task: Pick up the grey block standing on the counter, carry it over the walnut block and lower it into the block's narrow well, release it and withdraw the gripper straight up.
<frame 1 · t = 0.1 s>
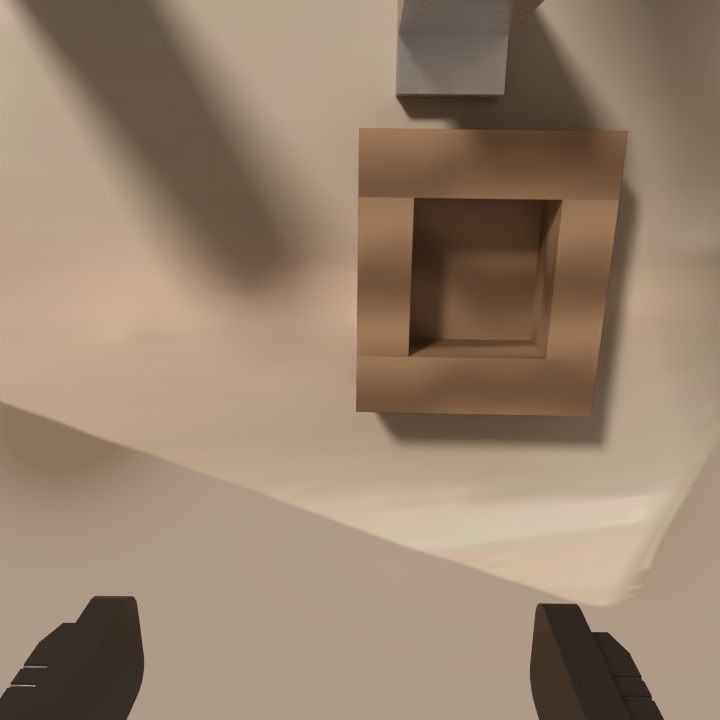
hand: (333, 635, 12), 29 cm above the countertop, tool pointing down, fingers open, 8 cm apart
grey block: (451, 0, 35), on the countertop
well block: (470, 268, 39), on the countertop
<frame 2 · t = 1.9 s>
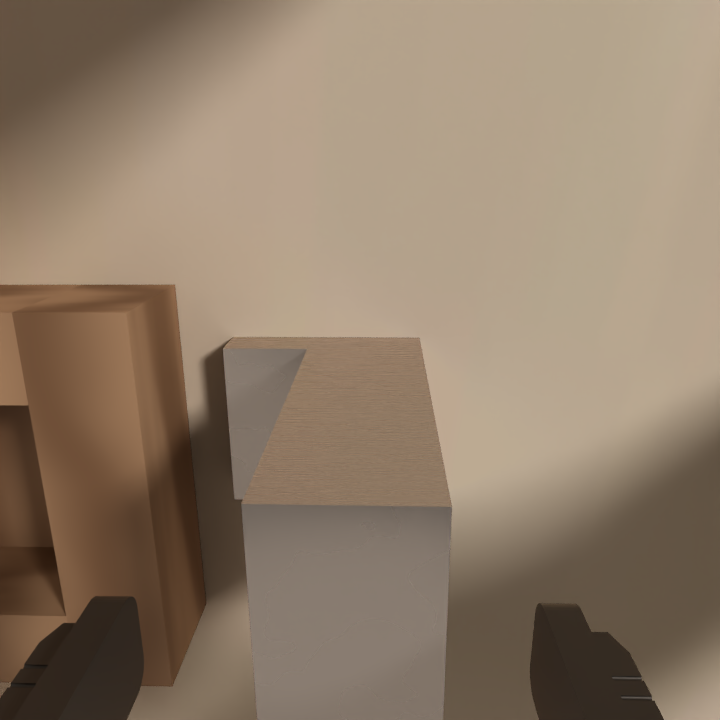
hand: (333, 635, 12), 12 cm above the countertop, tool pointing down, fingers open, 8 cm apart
grey block: (366, 412, 24), on the countertop
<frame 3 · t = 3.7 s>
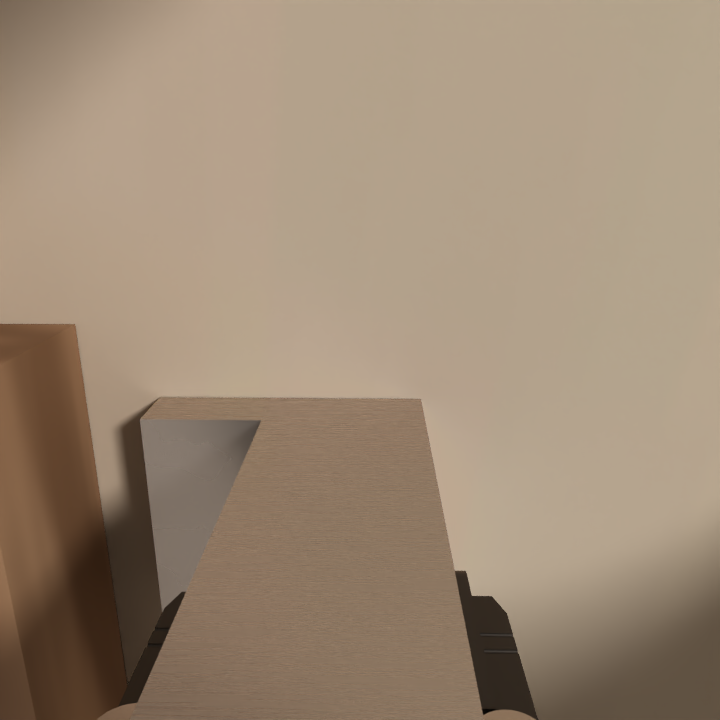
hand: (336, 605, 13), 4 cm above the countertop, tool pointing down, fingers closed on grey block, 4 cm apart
grey block: (346, 498, 18), on the countertop, touching gripper
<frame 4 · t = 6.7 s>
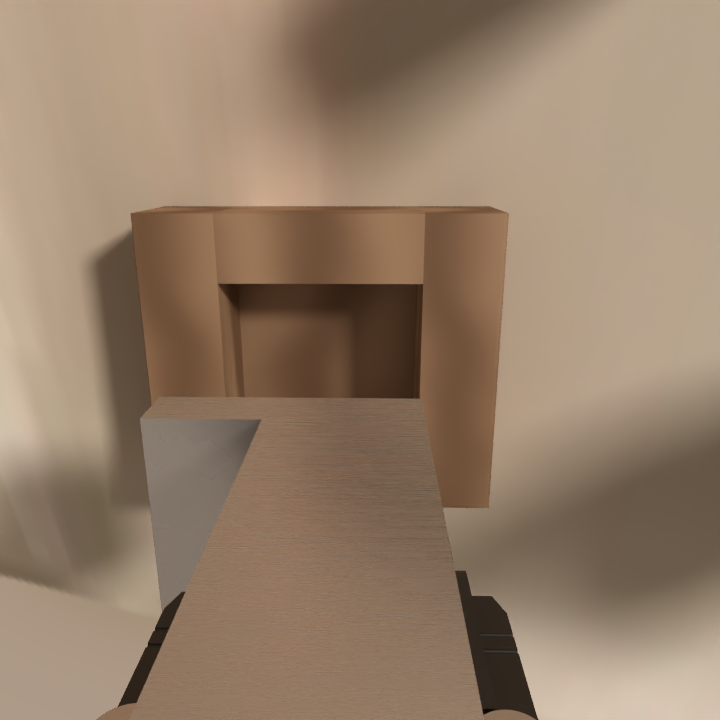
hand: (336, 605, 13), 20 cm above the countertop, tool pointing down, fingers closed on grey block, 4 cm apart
grey block: (346, 497, 18), point 16 cm above the countertop, touching gripper
well block: (328, 343, 33), on the countertop
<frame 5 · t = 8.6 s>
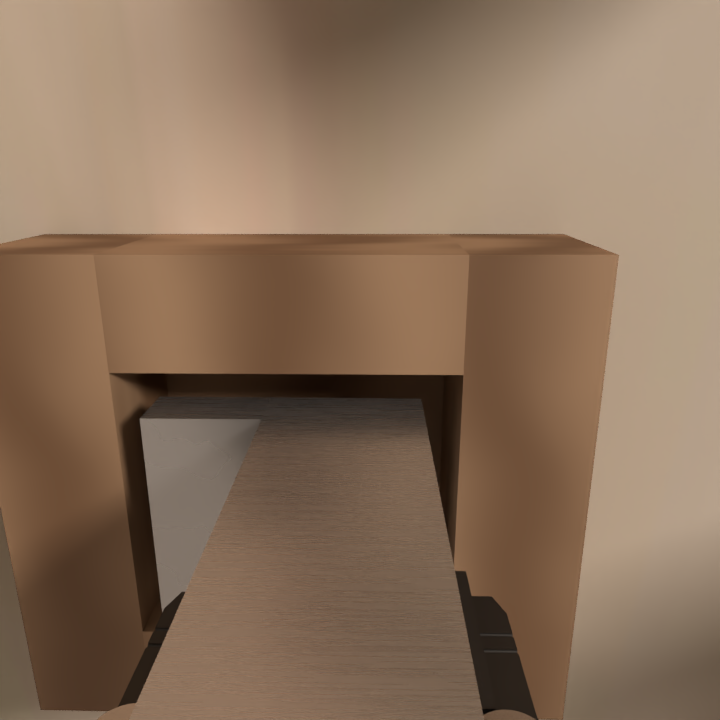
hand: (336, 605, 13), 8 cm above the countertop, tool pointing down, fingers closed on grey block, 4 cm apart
grey block: (346, 497, 18), point 4 cm above the countertop, touching gripper
well block: (307, 442, 21), on the countertop
when the fingers open (6 cm above the countertop, at t = 9.9 s): grey block drops 1 cm, resting on well block.
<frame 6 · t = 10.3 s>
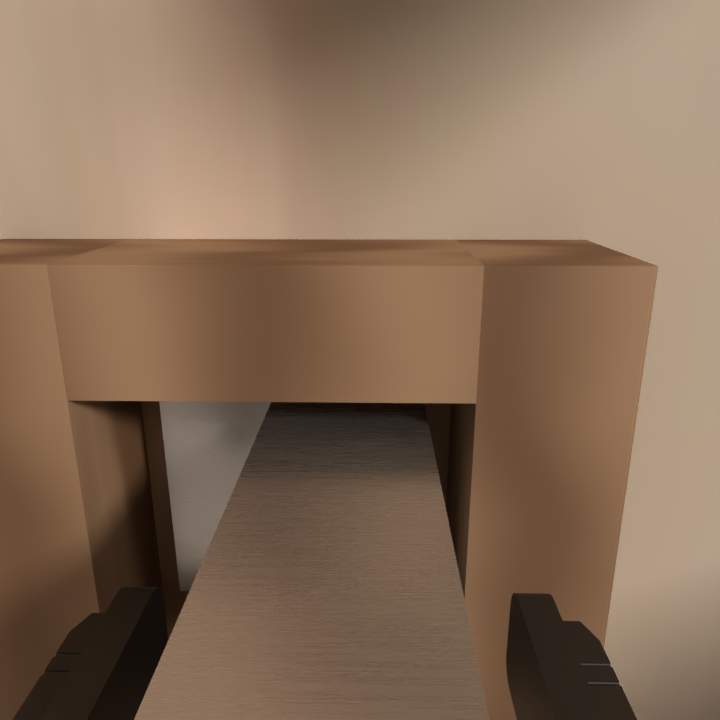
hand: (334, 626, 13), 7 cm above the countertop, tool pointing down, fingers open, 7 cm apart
grey block: (350, 476, 19), resting on well block
well block: (299, 470, 19), on the countertop
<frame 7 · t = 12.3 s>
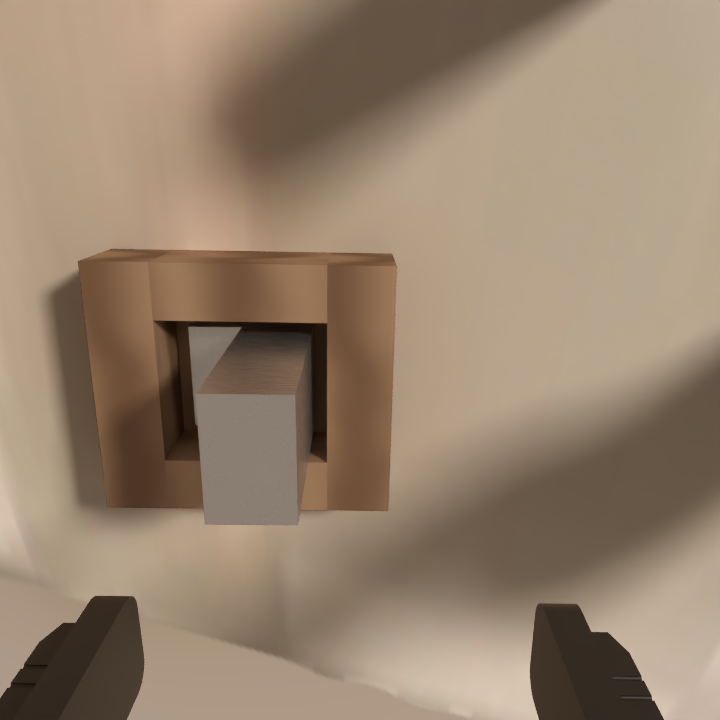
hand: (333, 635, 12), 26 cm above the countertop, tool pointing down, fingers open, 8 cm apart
grey block: (281, 369, 37), resting on well block
well block: (256, 367, 38), on the countertop
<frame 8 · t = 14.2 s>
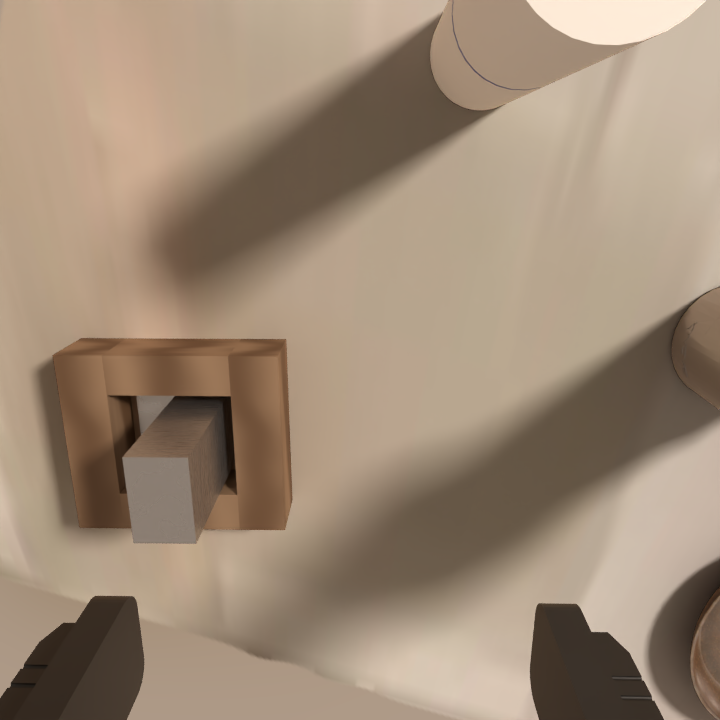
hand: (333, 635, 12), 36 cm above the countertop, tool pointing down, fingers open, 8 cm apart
grey block: (209, 424, 50), resting on well block
cylindrical container: (482, 53, 42), on the countertop
well block: (190, 422, 51), on the countertop
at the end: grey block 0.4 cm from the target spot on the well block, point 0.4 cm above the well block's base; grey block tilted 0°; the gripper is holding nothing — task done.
